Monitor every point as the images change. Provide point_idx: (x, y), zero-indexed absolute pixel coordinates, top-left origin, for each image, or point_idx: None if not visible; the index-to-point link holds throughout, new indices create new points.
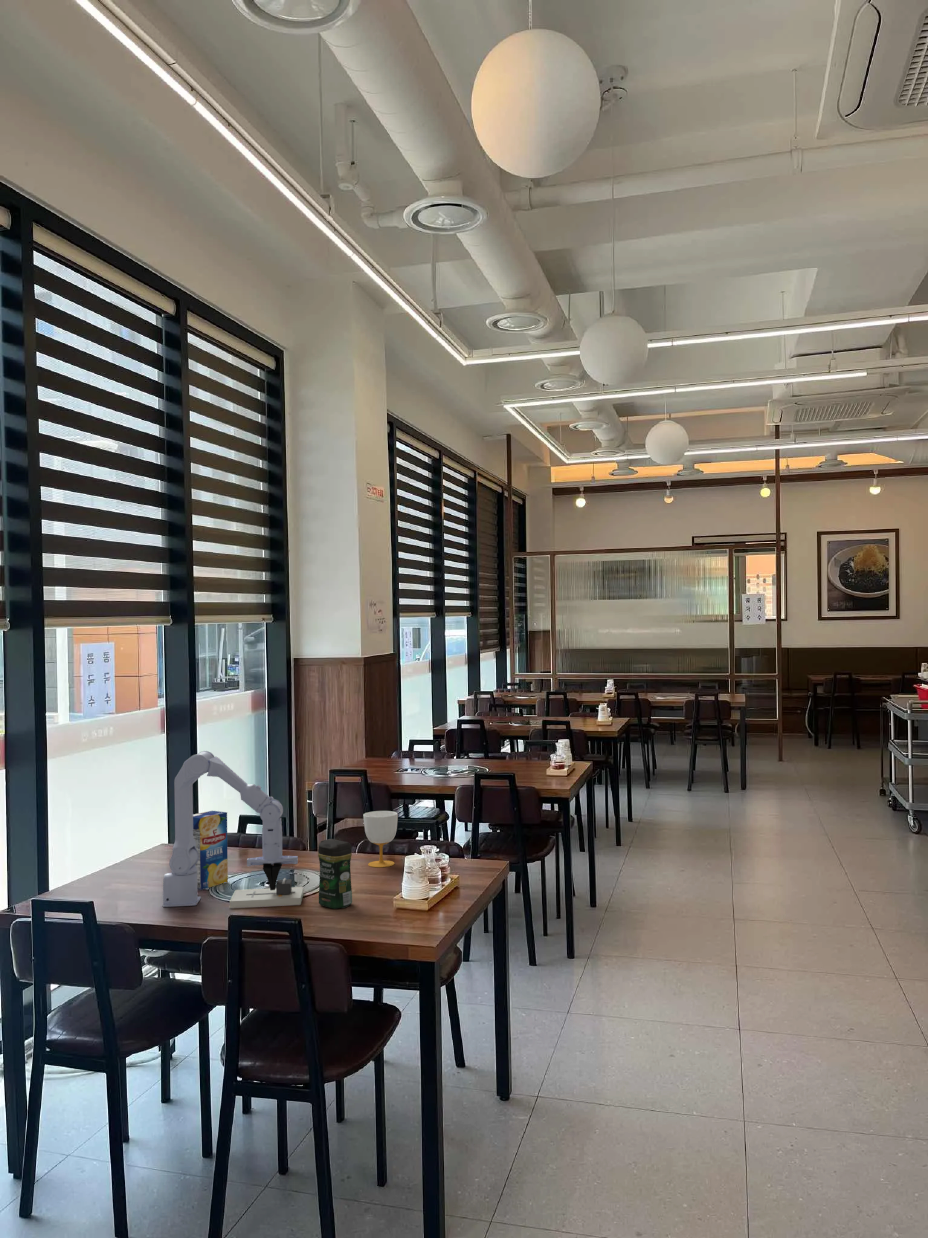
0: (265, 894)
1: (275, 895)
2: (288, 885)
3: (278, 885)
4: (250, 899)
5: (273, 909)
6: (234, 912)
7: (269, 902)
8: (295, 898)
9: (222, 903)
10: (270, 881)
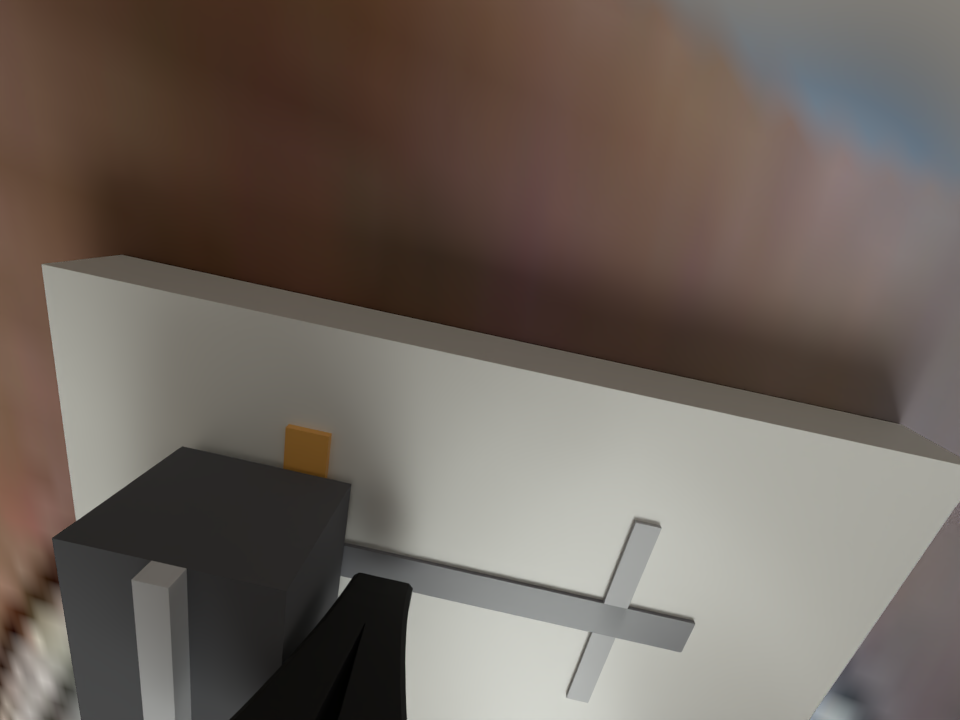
0: (477, 568)
1: (365, 490)
2: (105, 524)
3: (259, 567)
4: (692, 444)
5: (425, 193)
6: (907, 245)
7: (454, 343)
8: (110, 277)
9: (895, 616)
10: (369, 696)
